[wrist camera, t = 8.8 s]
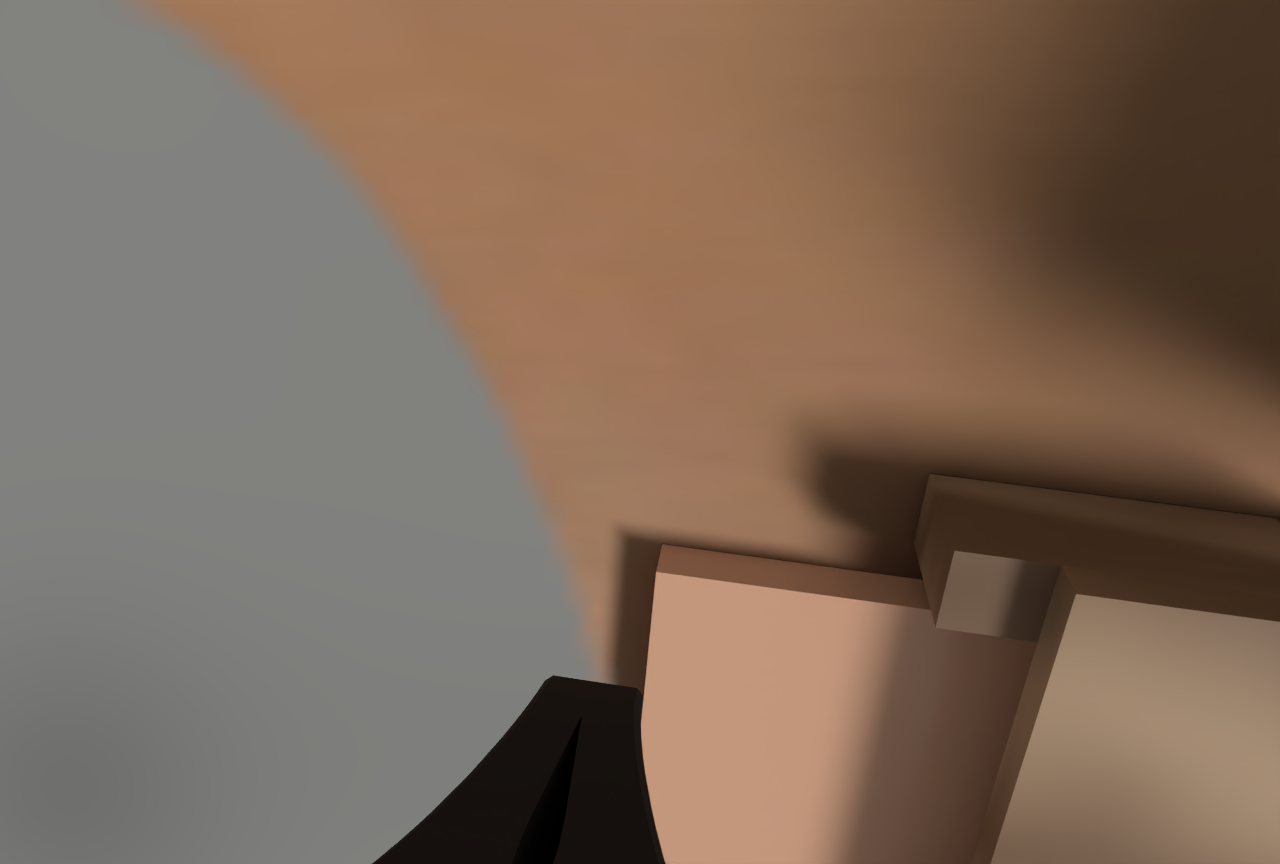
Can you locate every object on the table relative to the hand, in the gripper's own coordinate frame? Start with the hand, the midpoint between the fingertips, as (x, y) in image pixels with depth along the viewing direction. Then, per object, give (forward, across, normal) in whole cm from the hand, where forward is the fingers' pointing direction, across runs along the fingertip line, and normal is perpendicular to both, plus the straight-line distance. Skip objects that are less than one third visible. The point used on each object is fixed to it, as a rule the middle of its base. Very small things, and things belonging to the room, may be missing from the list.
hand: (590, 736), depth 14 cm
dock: (+9, -10, +7) cm, 15 cm away
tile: (+10, -6, +7) cm, 14 cm away
